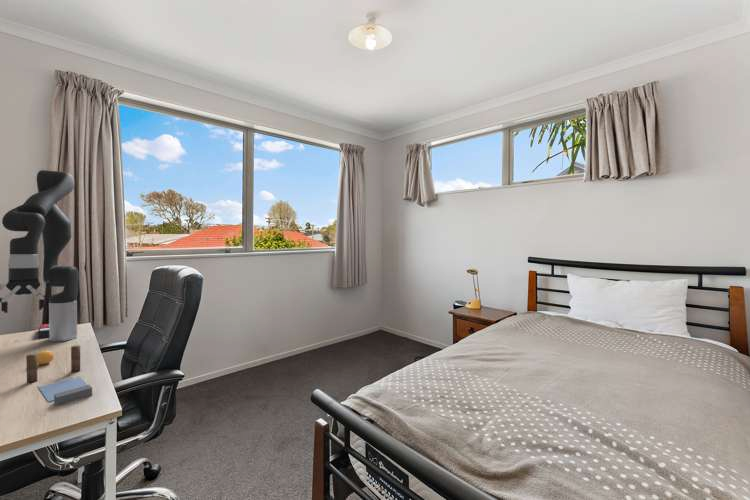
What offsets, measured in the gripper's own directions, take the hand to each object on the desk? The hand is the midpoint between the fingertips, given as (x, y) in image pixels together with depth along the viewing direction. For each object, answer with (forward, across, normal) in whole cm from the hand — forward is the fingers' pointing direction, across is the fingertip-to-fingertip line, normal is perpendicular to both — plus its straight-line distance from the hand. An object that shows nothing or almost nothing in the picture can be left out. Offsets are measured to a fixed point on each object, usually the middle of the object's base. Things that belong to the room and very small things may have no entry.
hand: (23, 311), depth 118 cm
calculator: (+18, -9, -44) cm, 49 cm away
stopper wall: (+23, -12, +41) cm, 48 cm away
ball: (+18, -6, +2) cm, 19 cm away
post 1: (+21, -3, +18) cm, 28 cm away
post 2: (+21, -13, +17) cm, 30 cm away
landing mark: (+22, -10, +31) cm, 40 cm away
